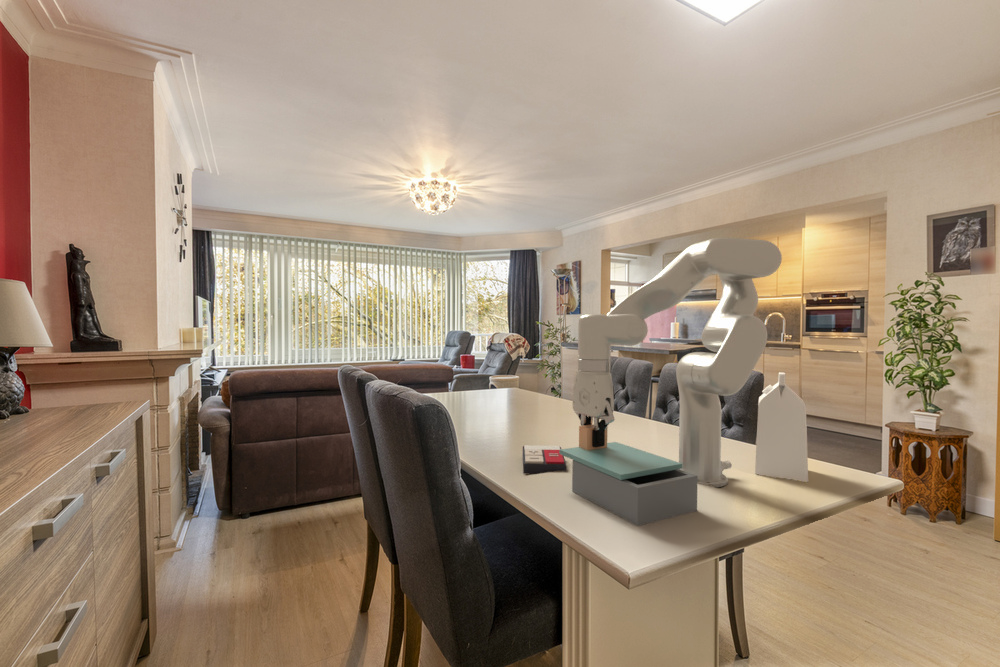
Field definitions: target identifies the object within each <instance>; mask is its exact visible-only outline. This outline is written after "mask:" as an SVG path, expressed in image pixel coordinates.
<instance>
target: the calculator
mask: <svg viewBox="0 0 1000 667" xmlns="http://www.w3.org/2000/svg"><path fill="white" fill-rule="evenodd" d="M560 449H562V447H561V446H560V445H528V444H526V445H523V446H522V473H523V474H524V473H530V474H529V475H539V474H544V473H552V472H557V471H558V472H561V471H563V472H564V471H565V472H566V471H567V462H566V459H565V456H563V455H561V454H559V450H560Z"/></svg>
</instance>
